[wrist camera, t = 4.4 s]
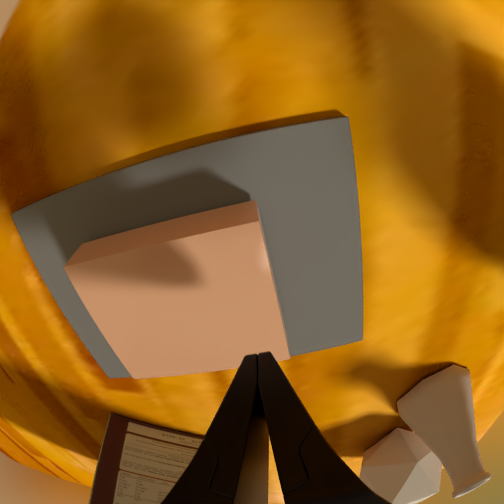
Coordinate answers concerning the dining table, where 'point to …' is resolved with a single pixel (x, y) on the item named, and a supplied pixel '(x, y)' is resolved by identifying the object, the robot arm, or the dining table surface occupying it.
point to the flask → (447, 425)
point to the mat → (221, 195)
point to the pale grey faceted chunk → (401, 468)
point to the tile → (184, 293)
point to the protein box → (140, 462)
